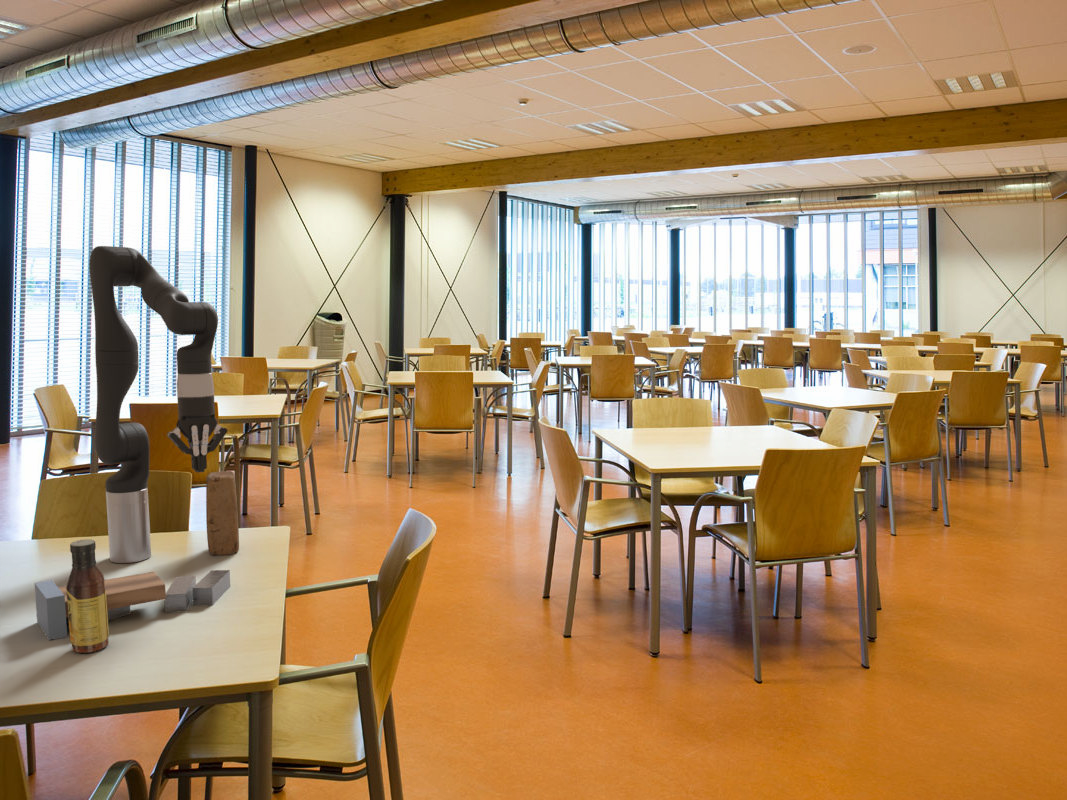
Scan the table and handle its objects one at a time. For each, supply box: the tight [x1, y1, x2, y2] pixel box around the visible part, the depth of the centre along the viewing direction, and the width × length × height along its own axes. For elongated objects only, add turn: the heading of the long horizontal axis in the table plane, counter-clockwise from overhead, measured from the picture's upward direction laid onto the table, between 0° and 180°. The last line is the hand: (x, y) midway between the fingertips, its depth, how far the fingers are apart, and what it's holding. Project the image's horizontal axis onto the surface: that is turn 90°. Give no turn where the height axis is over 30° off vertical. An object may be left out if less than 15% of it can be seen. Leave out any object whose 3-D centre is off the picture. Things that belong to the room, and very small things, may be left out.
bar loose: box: [66, 606, 131, 632], centre depth 173 cm, size 12×4×4 cm, turn 151°
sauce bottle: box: [65, 538, 110, 654], centre depth 158 cm, size 7×6×20 cm
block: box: [205, 470, 240, 556], centre depth 221 cm, size 11×8×20 cm
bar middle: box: [164, 575, 197, 614], centre depth 183 cm, size 12×4×4 cm, turn 12°
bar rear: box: [192, 569, 231, 607], centre depth 187 cm, size 12×4×4 cm, turn 2°
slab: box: [58, 571, 167, 617], centre depth 174 cm, size 10×18×3 cm, turn 125°
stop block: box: [34, 579, 68, 641], centre depth 168 cm, size 12×3×8 cm, turn 39°
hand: (199, 471), depth 194 cm, fingers closed
